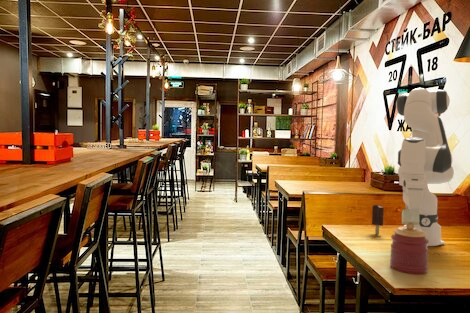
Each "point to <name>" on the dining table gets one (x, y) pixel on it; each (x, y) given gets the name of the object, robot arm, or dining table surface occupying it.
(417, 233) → the canister
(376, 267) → the dining table surface
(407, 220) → the sage block
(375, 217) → the ice cream bar
